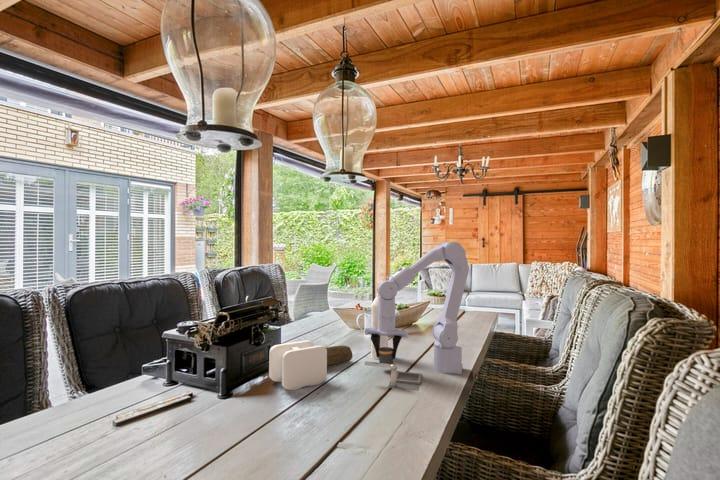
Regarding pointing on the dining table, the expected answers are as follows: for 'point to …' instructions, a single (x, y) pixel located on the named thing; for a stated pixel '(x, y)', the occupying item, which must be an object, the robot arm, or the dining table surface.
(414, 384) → the socket
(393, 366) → the brushed metal lever
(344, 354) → the brown cylinder
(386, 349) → the plug
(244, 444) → the dining table surface
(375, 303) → the water bottle
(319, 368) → the cable organizer
